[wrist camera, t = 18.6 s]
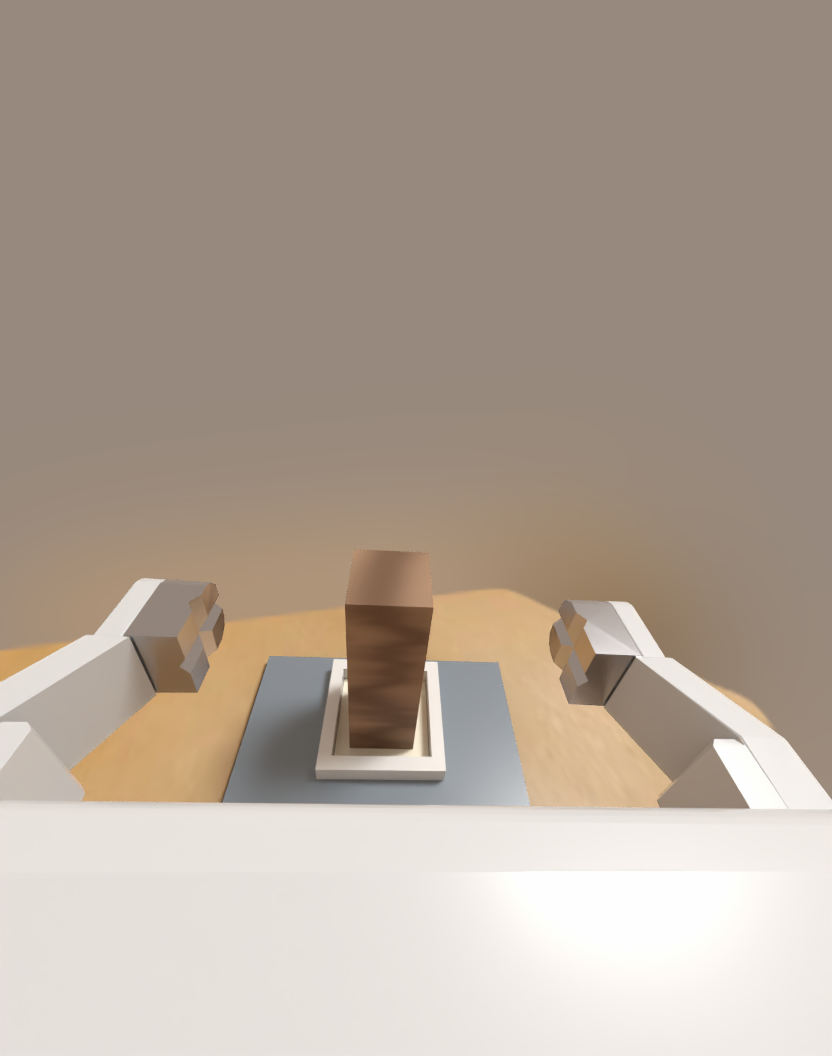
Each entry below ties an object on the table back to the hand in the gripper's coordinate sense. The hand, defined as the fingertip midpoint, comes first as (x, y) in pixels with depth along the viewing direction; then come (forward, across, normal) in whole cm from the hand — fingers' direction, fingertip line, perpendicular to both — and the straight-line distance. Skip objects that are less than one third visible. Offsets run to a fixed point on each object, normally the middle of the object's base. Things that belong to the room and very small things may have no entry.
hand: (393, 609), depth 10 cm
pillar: (+12, 0, +26) cm, 28 cm away
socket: (+12, 0, +27) cm, 29 cm away
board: (+10, 0, +27) cm, 29 cm away
